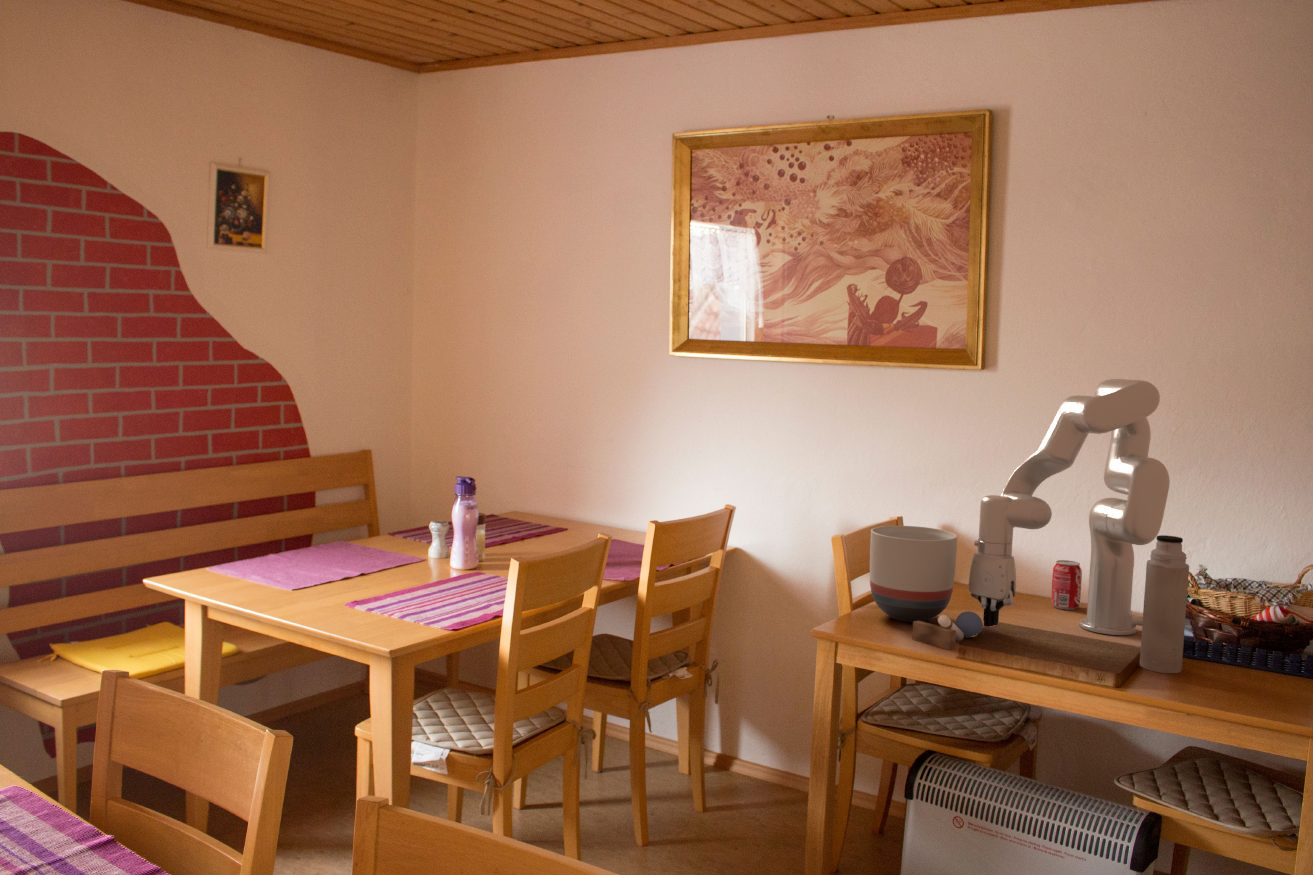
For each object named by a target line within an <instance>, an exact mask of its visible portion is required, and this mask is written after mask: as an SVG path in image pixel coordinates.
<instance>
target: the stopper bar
mask: <svg viewBox="0 0 1313 875" xmlns="http://www.w3.org/2000/svg"><path fill="white" fill-rule="evenodd" d="M911 636H912V638H911V639H912V640H915V641H918V642H920V643H925V644H929V645H932V646H935V647H939V648H942V649H946V650H950V651H951V650H954V649H956V640H955V639H956V630H952V629H948V628H944V627H942V626H941V625H937V624H933V623H930V622H929V623H928V622H927V621H923V622H922V621H914V622H912V635H911Z"/></svg>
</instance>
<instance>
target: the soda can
mask: <svg viewBox="0 0 1313 875" xmlns="http://www.w3.org/2000/svg"><path fill="white" fill-rule="evenodd" d="M1080 564H1081V563H1080V562H1078V561H1074V560H1065V559H1061V560H1060V559H1059V560H1056V561H1055V565H1054V566H1053V568H1052V578H1051V580H1052V581H1051V597H1050V600H1051V605H1053V607H1055V608H1056V609H1059V610H1063V609H1065V611H1074V610H1076V609H1078V608H1079V607H1080V603H1081V594H1082V581H1083V580H1082V578H1083V574H1082V573H1083V571H1082V568H1081V566H1080Z"/></svg>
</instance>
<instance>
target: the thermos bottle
mask: <svg viewBox="0 0 1313 875" xmlns="http://www.w3.org/2000/svg"><path fill="white" fill-rule="evenodd" d="M1156 540H1157V541H1156V543H1155V544H1156V545H1155V548H1154V549H1152V550H1151V551H1150V555H1149V556H1150V559H1149V560H1147V561H1146V568H1145V582H1144V584H1145V585H1144V597H1143V610H1142V617H1143V623H1142V626H1141V636H1140V637H1141V641H1140V651H1139V652H1140V654H1139V655H1140V656H1139V666H1140V667H1142V668H1143V669H1145V670H1148V671H1151V672H1157V673H1163V674H1177V673H1181V672H1182V671H1183V670H1182V669H1183V668H1182V667H1183V658H1184V657H1183V655H1184V643H1185V642H1184V640H1185V628H1186V618H1187V617H1186V613H1187V602H1188V600H1187V599H1188V588H1189V576H1190V565H1189V564H1187V554H1186V553H1185V552H1184V551H1183V545H1182V544H1183V542H1184V540H1183V538H1182V537H1179V536H1174V535H1166V534H1165V535H1164V534H1163V535H1157V536H1156Z"/></svg>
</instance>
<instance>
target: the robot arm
mask: <svg viewBox="0 0 1313 875" xmlns="http://www.w3.org/2000/svg"><path fill="white" fill-rule="evenodd" d="M1160 397H1161V395H1160V393H1159V390H1158V388H1157V387H1156V386H1155V385H1154V384H1153V383H1151V382H1150V381H1147V380H1146V381H1145V380H1140V379H1139V380H1138V379H1123V378H1122V379H1121V378H1112V379H1106V380H1104V381H1101V382H1100V383H1099V384H1098V385H1097V386H1096V389H1095V391H1094V396H1091V395H1070V396H1068V397H1067V398H1066V397H1065V399H1064V400H1063V401H1062V402H1061V403H1060V405H1059V407H1058V409H1057V410H1056V412H1055V414H1054V417H1053V418H1052V420H1051V422H1050V424H1049V426H1048V429H1047V430H1046V432H1045V434H1044V436H1043V438H1042V439H1041V441H1040V443H1039V445H1038V447H1037V449H1036V450H1035V451H1034V452H1033V453H1032V454H1031V455H1030V456H1028V457H1027V458H1026V459H1025V460H1024V461H1022V462H1021V464H1020V465H1019V466H1018V467H1017V468H1016V469H1014V471H1013V472H1012V474H1011V475H1010V476H1009V478H1008V480H1007V482H1006V483H1005V485H1004V487H1003V489H1002V491H1001V494H1000V495H997V494H996V495H995V494H994V495H993V494H991V495H985V496H983V497H982V498H981V499H980V500H981V501H980V508H979V509H980V510H979V529H978V540H974V542H973V543H974V546H975V547H977V551H975V552H974V554H973V556H972V560H971V565H970V570H969V575H968V576H969V577H968V578H969V579H968V591H969V593H970V597H972V598H974V599H976V600H978V601H979V603H980V604H981V609H982V610H983V617H982V618H983V619H982V620H983V627H988V628H990V627H989V626H993V625H997V626H998V623H999V614H1000V611H1001V609H1003V608H1004V607H1005V606H1013V605H1014V604H1015V600H1014V597H1015V596H1016V591H1017V589H1016V588H1017V573H1016V572H1017V571H1016V562H1015V557H1014V556H1013V555H1012V554H1013V538H1014V536H1013V535H1014V528H1020V529H1027V530H1040V529H1042V528H1044V527H1046V526H1047V525H1048V524H1049V523H1050V521H1051V520H1052V517H1053V516H1052V514H1053V512H1052V508H1051V507H1050V505H1049V504H1048V502H1046V501H1045V500H1043V499H1041V498H1039V497H1037V496H1033V494H1034V493H1035V491H1036V490H1037V489H1038V487H1039V486H1040V485H1041V484H1042V483H1043V482H1044V481H1046V480H1047V479H1048V478H1050V477H1052V476H1054V475H1057V474H1059V473H1062V472H1064V471H1065V470H1067V469H1069V468H1071V467H1072V466H1073V464H1074V463H1075V460H1076V459H1077V456H1078V455H1079V453H1080V450H1081V449H1082V447H1083V445H1084V443H1085V442H1086V439H1087V437H1088V436H1089V434H1095V435H1101V434H1106V433H1109V432H1111V435H1110V436H1111V437H1110V443H1109V448H1108V452H1107V457H1106V464H1105V467H1104V474H1103V480H1104V483H1105V486H1106V487H1107V488H1108V489H1109V490H1110V491H1113V492H1115V493H1119V494H1122V495H1127V499H1122V498H1116V497H1106V498H1105V497H1104V498H1102V499H1100V500H1098V501H1096V502H1095V503H1094V505H1092V507H1091V509H1090V510H1089V514H1088V526H1089V533H1090V550H1091V551H1090V563H1089V564H1090V565H1089V578H1088V590H1087V591H1088V594H1087V608H1086V617H1084V618H1081V619H1080V620H1079V623H1078V624H1079V626H1080V628H1083V629H1084V630H1086V631H1090V632H1094V633H1098V634H1103V635H1110V636H1111V635H1112V636H1130V635H1134V634H1136V633H1137V630H1138V629H1137V626H1140V627H1142V623H1143V616H1136V615H1135V614H1134V615H1133V612H1132V595H1133V582H1134V570H1135V569H1134V568H1135V552H1134V547H1133V545H1136V546H1145V545H1149V544H1150V543H1151V542H1153V541H1154V540H1155V539H1157V536H1159V533H1160V530H1161V527H1162V524H1163V519H1164V515H1165V510H1166V504H1167V500H1168V495H1169V490H1170V483H1171V482H1170V480H1171V479H1170V475H1169V471H1168V469H1167V467H1166V466H1165V465H1164V464H1163V463H1162V462H1161V461H1160V460H1158V459H1156V458H1153V457H1151V456H1150V457H1149V451H1150V444H1151V437H1152V436H1151V432H1152V431H1151V426H1150V422H1149V420H1148V417H1149V416H1150V415H1152V414H1153V413H1154V412H1156V410H1157V409H1158V407H1159V405H1160V400H1161V398H1160Z"/></svg>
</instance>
